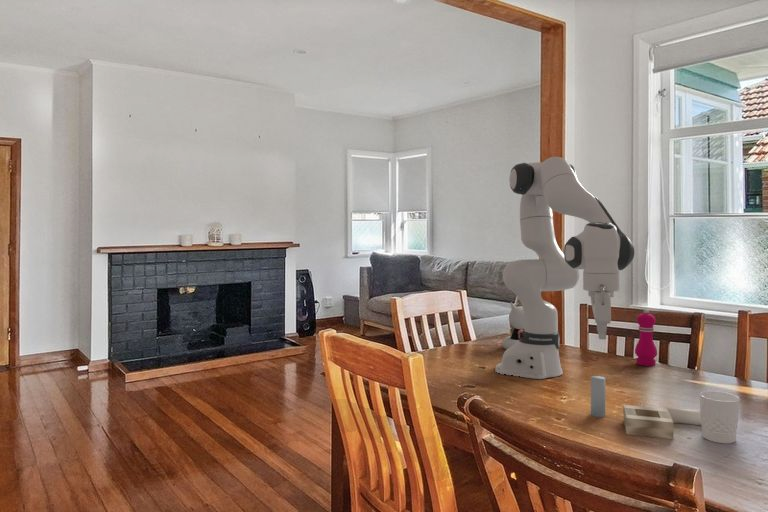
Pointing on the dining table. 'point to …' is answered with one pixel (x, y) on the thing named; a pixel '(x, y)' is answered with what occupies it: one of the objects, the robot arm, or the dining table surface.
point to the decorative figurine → (514, 325)
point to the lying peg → (685, 416)
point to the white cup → (719, 416)
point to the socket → (648, 421)
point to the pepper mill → (646, 340)
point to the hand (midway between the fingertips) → (601, 335)
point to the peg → (598, 396)
